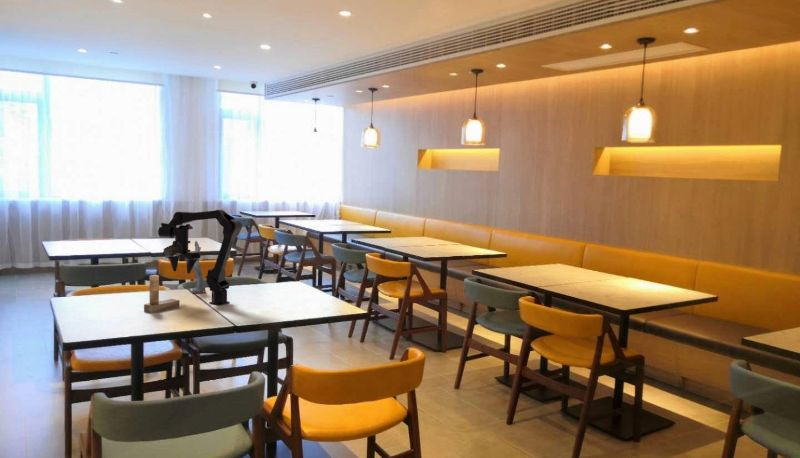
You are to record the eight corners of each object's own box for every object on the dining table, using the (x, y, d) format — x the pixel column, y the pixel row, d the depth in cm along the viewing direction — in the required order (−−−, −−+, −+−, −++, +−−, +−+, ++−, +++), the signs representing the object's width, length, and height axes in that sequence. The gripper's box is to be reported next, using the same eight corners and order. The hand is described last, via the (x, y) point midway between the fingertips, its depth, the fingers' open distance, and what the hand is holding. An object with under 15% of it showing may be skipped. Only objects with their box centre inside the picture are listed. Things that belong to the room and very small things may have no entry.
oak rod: (160, 303, 245) (160, 275, 244) (154, 305, 241) (154, 276, 240) (154, 302, 246) (154, 274, 245) (147, 304, 243) (147, 276, 242)
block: (179, 307, 252) (179, 300, 252) (151, 312, 240) (151, 305, 240) (171, 305, 255) (171, 298, 254) (144, 311, 243) (144, 304, 242)
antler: (206, 293, 283) (206, 243, 281) (189, 294, 280) (189, 243, 278) (204, 289, 293) (205, 240, 291) (188, 289, 290) (188, 240, 288)
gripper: (153, 238, 261) (153, 272, 262) (181, 241, 252) (181, 276, 253) (173, 236, 271) (173, 269, 272) (201, 239, 262) (201, 273, 263)
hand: (181, 272), depth 265 cm, fingers open, 9 cm apart
